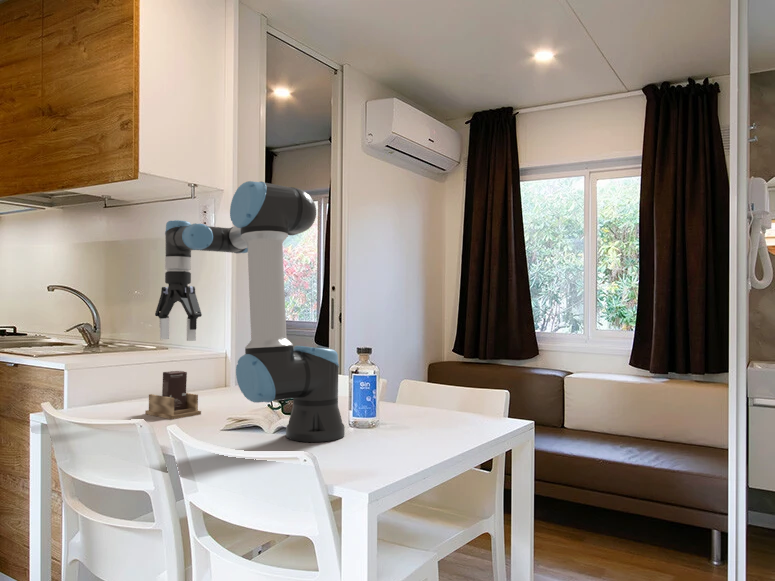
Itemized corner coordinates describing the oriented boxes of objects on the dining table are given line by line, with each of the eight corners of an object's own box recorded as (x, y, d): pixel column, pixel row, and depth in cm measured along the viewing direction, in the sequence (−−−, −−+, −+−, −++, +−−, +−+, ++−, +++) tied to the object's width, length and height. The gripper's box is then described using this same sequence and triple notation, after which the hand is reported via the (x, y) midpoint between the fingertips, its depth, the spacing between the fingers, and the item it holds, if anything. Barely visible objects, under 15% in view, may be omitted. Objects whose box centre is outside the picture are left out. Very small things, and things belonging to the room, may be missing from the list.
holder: (201, 414, 184) (201, 394, 184) (172, 419, 176) (172, 398, 176) (174, 409, 192) (174, 390, 192) (145, 413, 184) (145, 394, 184)
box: (168, 413, 180) (169, 373, 180) (161, 411, 183) (161, 371, 183) (187, 410, 184) (187, 371, 185) (179, 408, 187) (179, 370, 188)
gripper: (213, 270, 180) (213, 340, 180) (165, 272, 195) (164, 337, 194) (192, 269, 174) (192, 342, 174) (144, 271, 189) (143, 339, 188)
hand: (177, 340), depth 184 cm, fingers open, 13 cm apart
